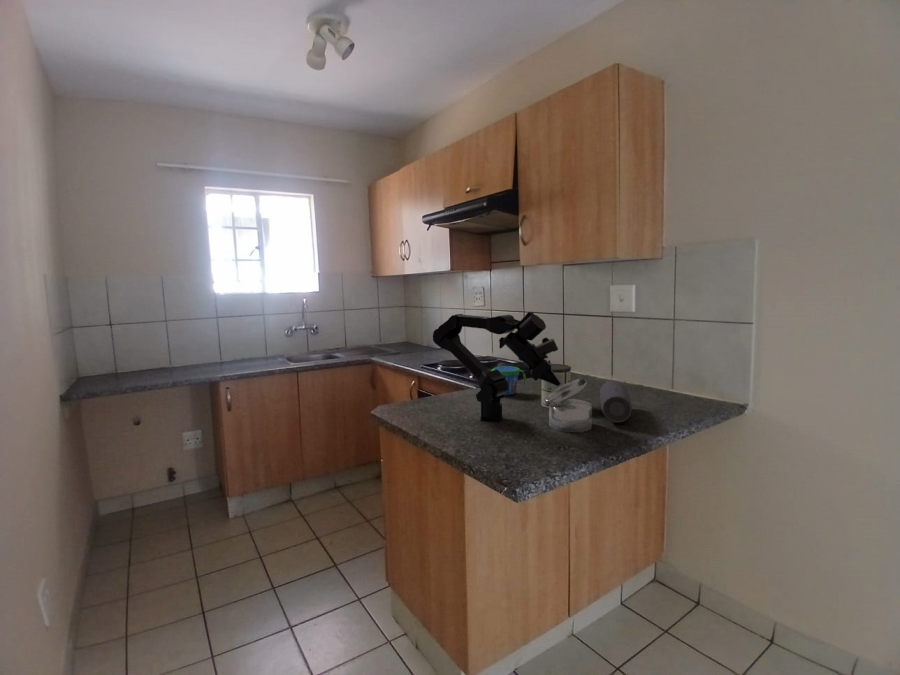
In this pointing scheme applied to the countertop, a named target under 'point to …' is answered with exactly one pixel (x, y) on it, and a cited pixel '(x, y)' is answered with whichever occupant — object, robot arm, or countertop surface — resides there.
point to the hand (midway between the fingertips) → (559, 384)
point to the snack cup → (511, 377)
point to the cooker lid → (566, 391)
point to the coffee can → (562, 375)
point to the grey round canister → (571, 416)
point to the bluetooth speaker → (615, 401)
